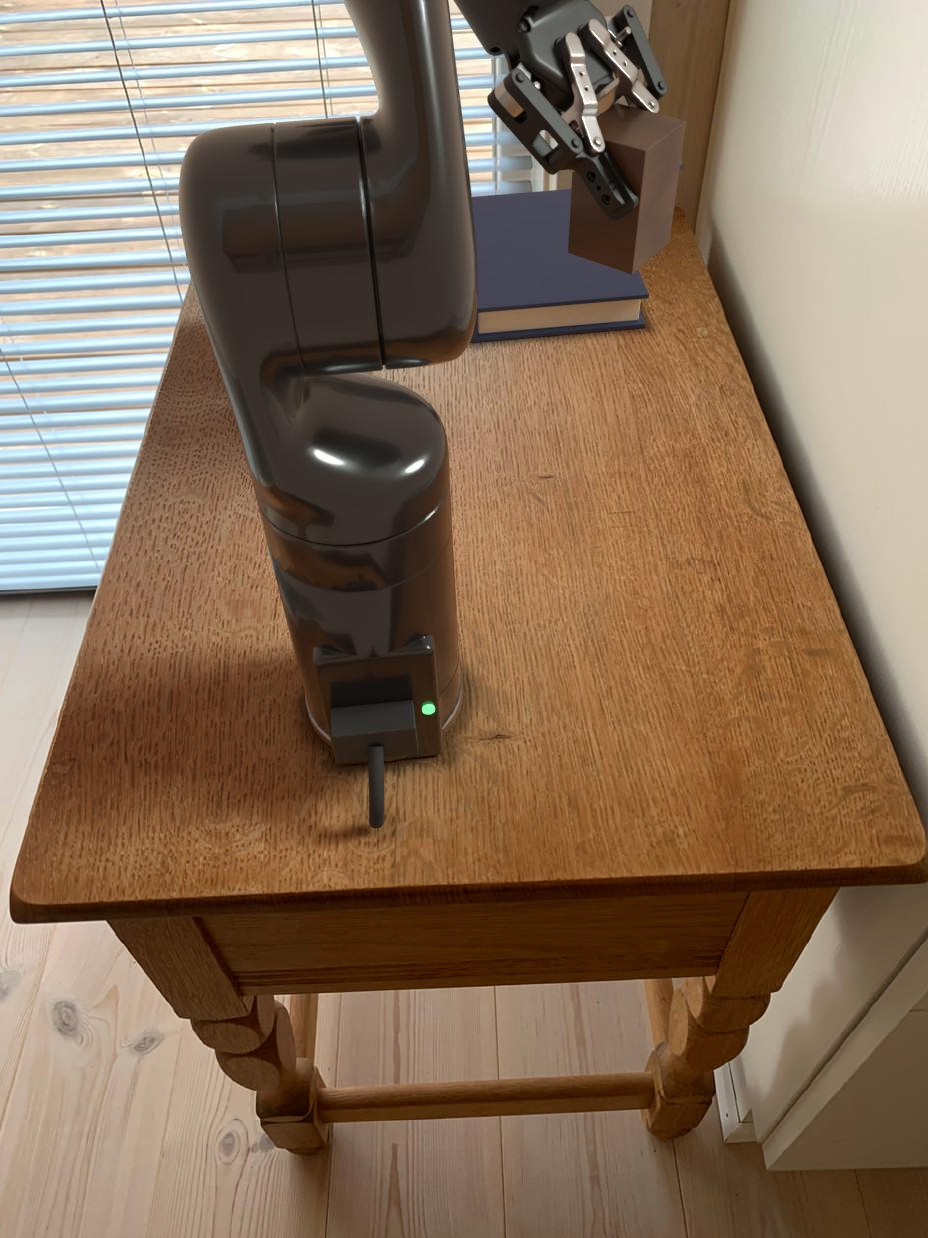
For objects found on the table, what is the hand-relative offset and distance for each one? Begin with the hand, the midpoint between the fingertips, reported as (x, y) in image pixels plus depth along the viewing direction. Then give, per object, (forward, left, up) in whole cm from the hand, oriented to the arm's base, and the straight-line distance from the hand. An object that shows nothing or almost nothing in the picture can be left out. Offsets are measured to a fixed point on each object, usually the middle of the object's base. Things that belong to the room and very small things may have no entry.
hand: (649, 194), depth 63 cm
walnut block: (+1, +1, -4) cm, 5 cm away
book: (+23, +3, -18) cm, 30 cm away
